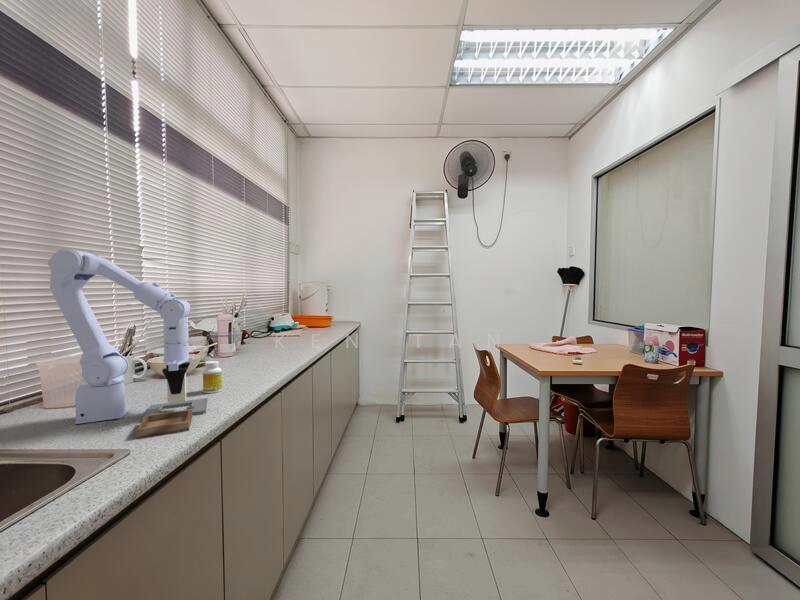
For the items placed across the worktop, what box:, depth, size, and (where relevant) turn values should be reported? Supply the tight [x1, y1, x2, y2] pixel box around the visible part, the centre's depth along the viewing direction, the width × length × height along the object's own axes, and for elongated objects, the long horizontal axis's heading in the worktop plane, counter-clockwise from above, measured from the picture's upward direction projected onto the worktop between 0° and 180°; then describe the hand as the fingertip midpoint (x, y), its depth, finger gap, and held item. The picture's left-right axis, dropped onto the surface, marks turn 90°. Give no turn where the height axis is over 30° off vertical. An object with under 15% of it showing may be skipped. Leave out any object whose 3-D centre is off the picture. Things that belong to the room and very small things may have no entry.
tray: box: [136, 408, 193, 439], centre depth 83 cm, size 10×10×2 cm
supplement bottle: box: [202, 360, 223, 394], centre depth 113 cm, size 5×5×10 cm
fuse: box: [166, 372, 188, 403], centre depth 94 cm, size 4×4×8 cm
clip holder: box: [141, 397, 209, 421], centre depth 95 cm, size 14×12×2 cm
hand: (177, 391), depth 94 cm, fingers closed on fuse, 4 cm apart
